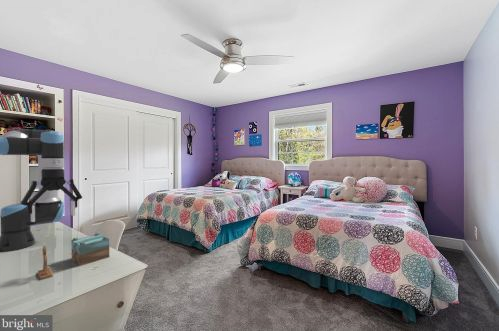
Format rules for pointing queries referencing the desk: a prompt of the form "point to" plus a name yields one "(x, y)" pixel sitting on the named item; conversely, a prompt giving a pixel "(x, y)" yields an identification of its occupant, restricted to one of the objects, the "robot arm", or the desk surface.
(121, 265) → the desk surface
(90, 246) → the teal and brown block
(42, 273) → the lever handle backplate
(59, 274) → the desk surface
